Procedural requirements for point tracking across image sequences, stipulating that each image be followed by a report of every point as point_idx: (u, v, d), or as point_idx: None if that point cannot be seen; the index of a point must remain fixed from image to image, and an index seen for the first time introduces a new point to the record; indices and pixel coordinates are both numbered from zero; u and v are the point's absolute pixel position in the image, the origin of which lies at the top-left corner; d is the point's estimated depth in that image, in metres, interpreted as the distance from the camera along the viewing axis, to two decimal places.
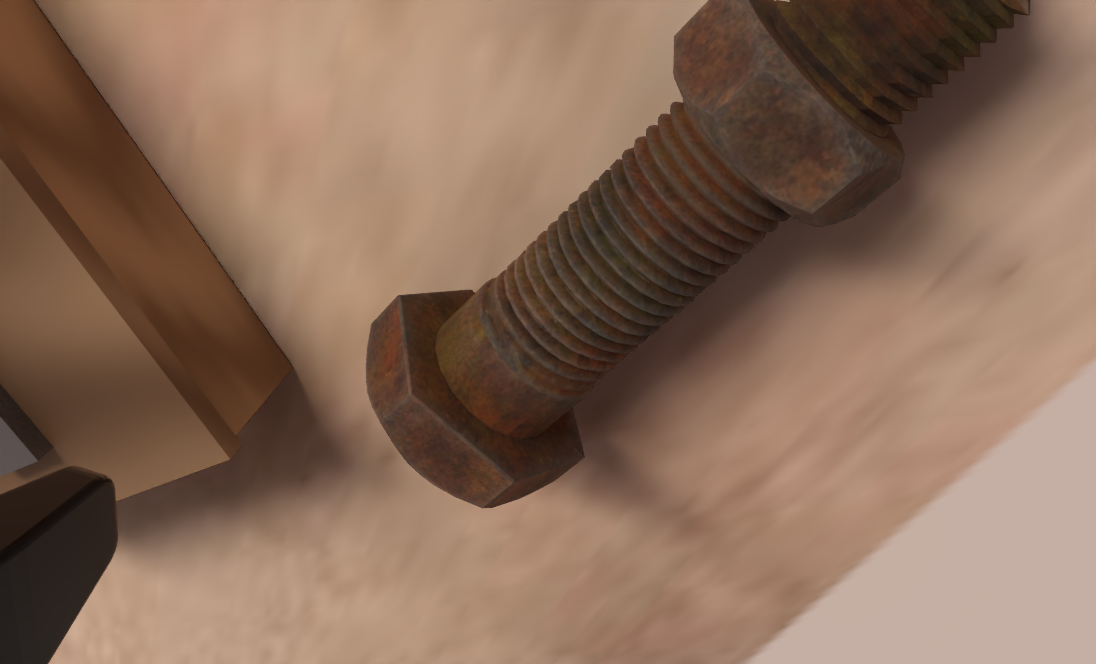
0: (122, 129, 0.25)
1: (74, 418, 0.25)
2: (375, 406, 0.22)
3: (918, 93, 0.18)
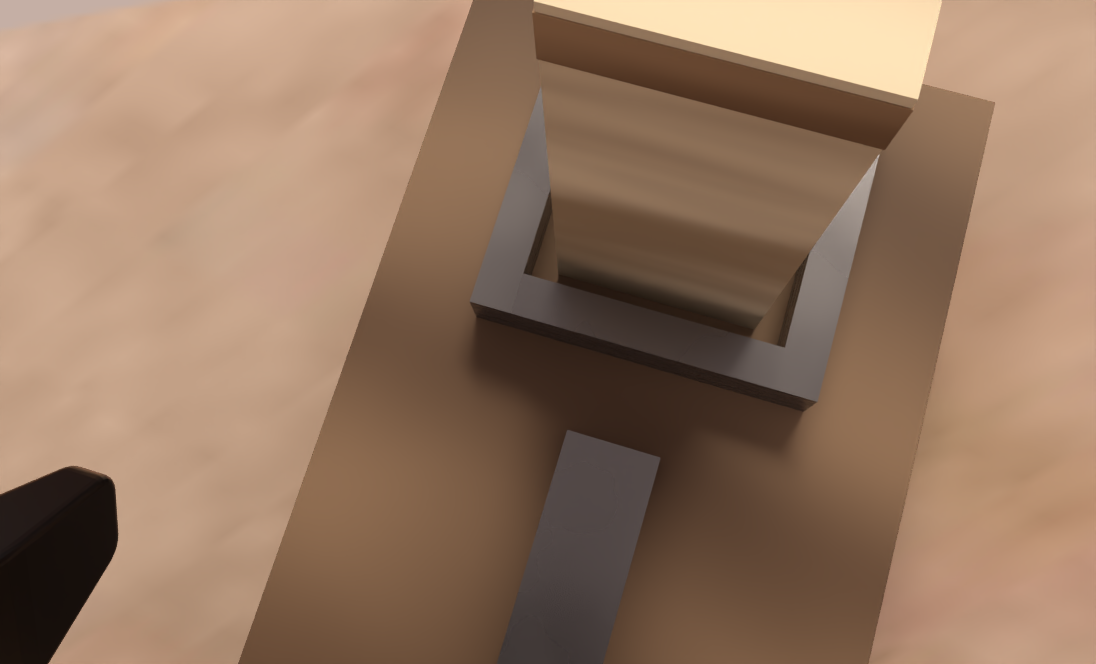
0: None
1: None
2: None
3: None
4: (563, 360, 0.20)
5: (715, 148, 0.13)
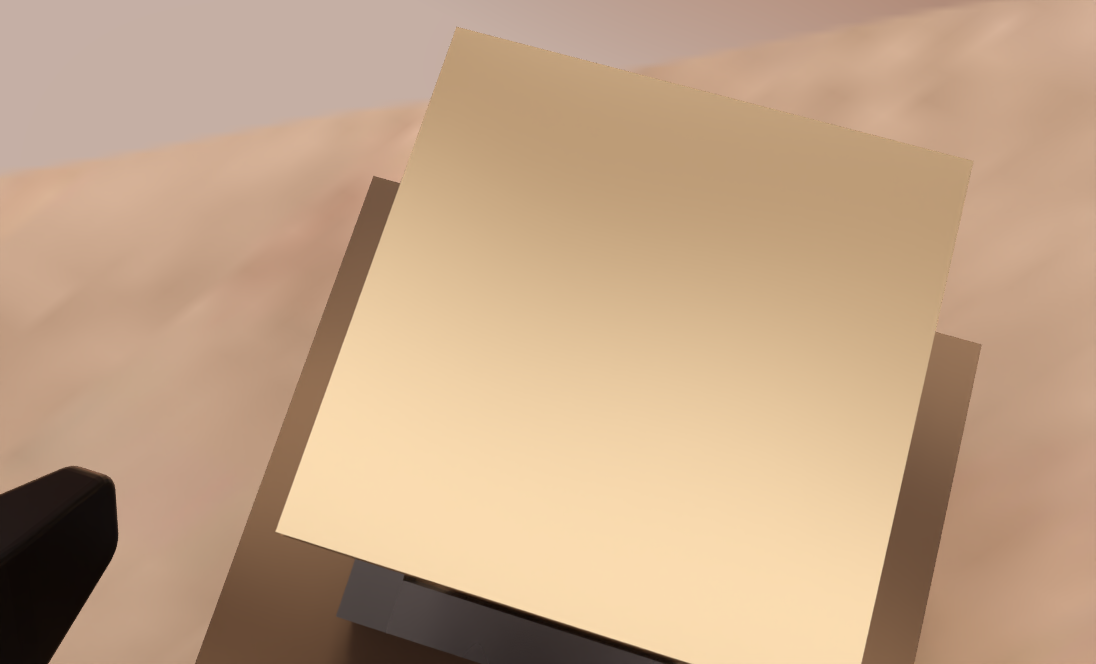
0: None
1: None
2: None
3: None
4: None
5: None
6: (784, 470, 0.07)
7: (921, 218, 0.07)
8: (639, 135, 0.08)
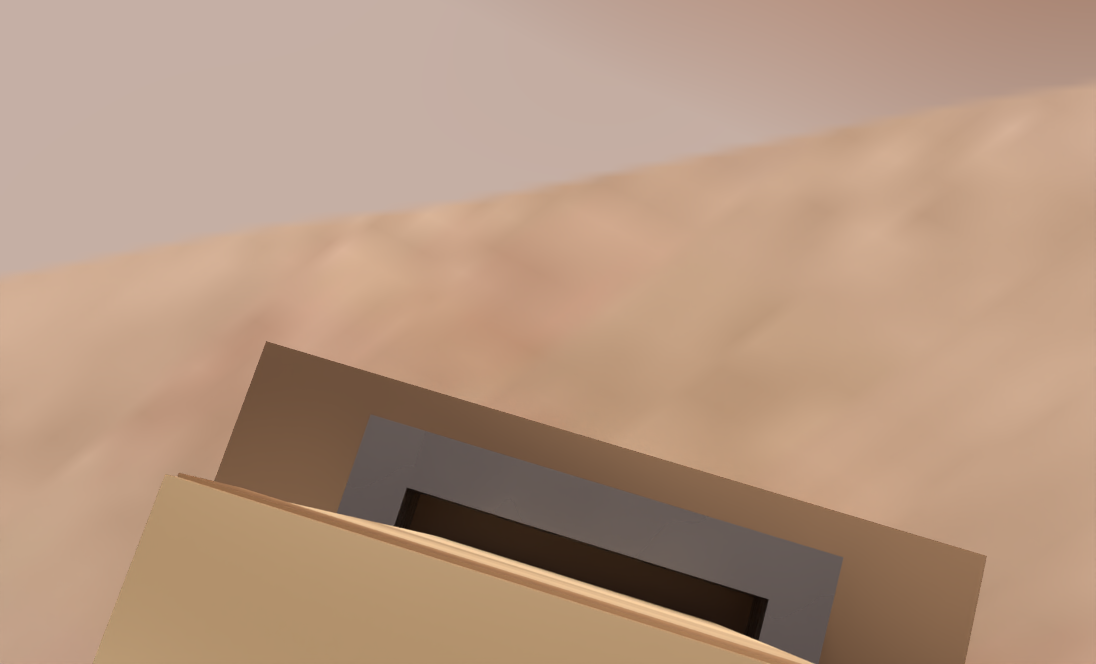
0: None
1: None
2: None
3: None
4: None
5: None
6: None
7: None
8: None
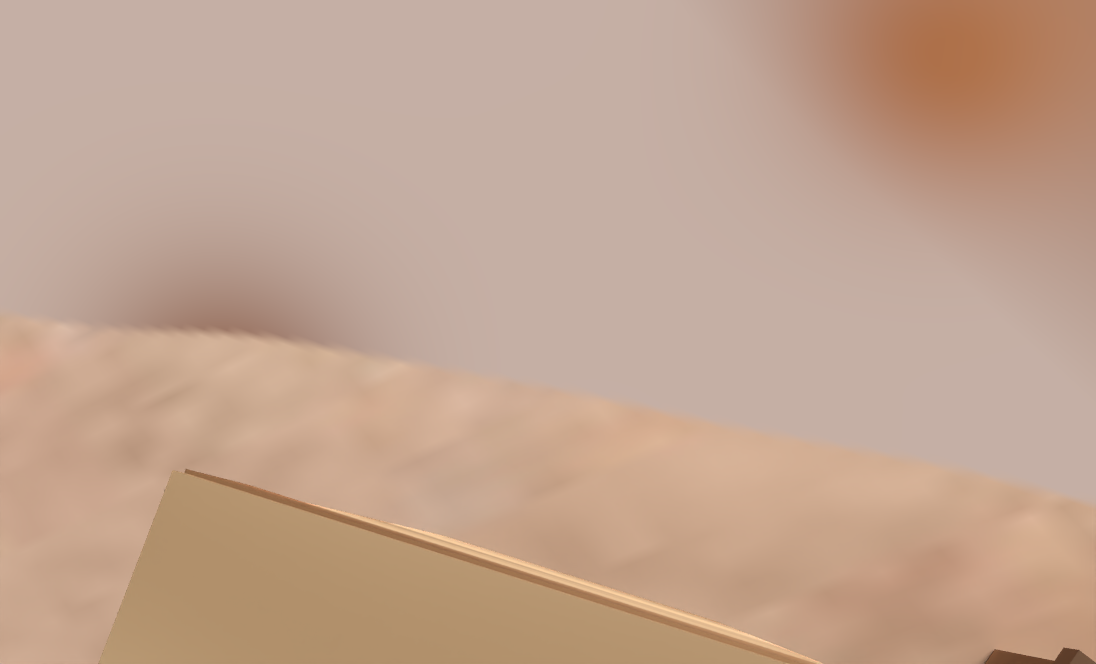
0: None
1: None
2: None
3: None
4: None
5: None
6: None
7: None
8: None
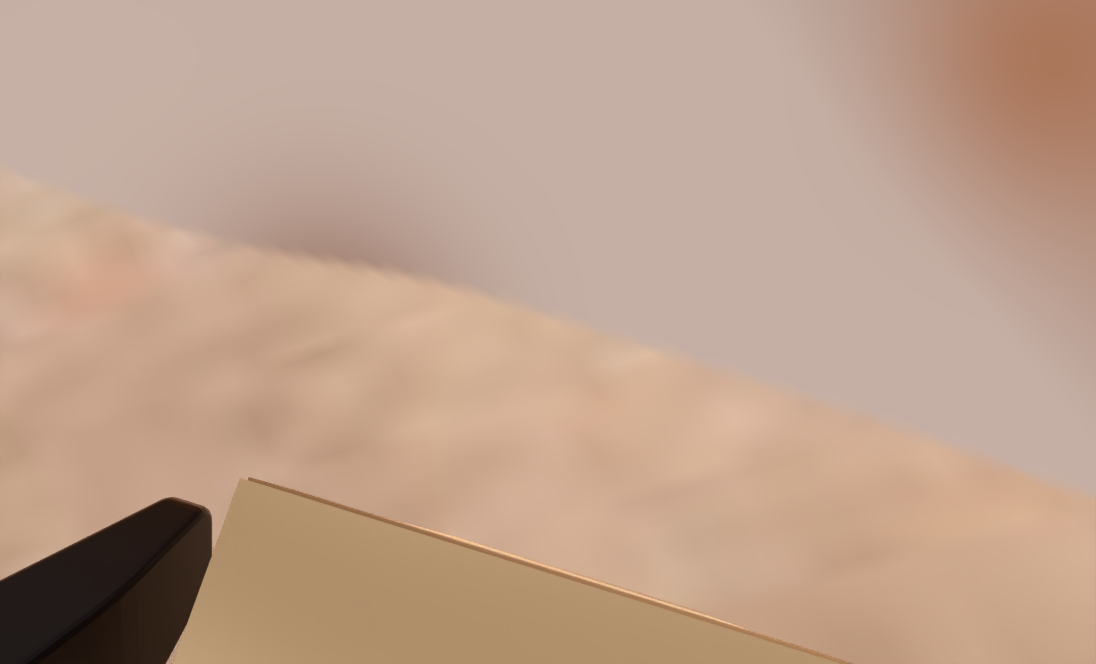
0: None
1: None
2: None
3: None
4: None
5: None
6: None
7: None
8: (453, 628, 0.06)
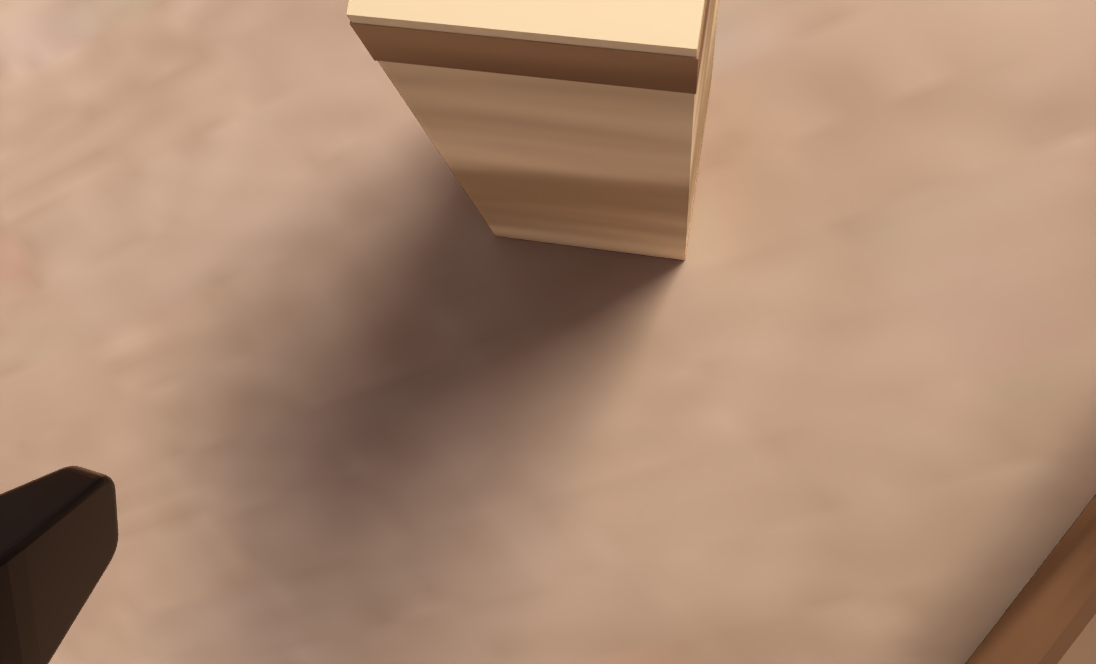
0: None
1: None
2: None
3: None
4: None
5: (560, 112, 0.14)
6: None
7: None
8: None
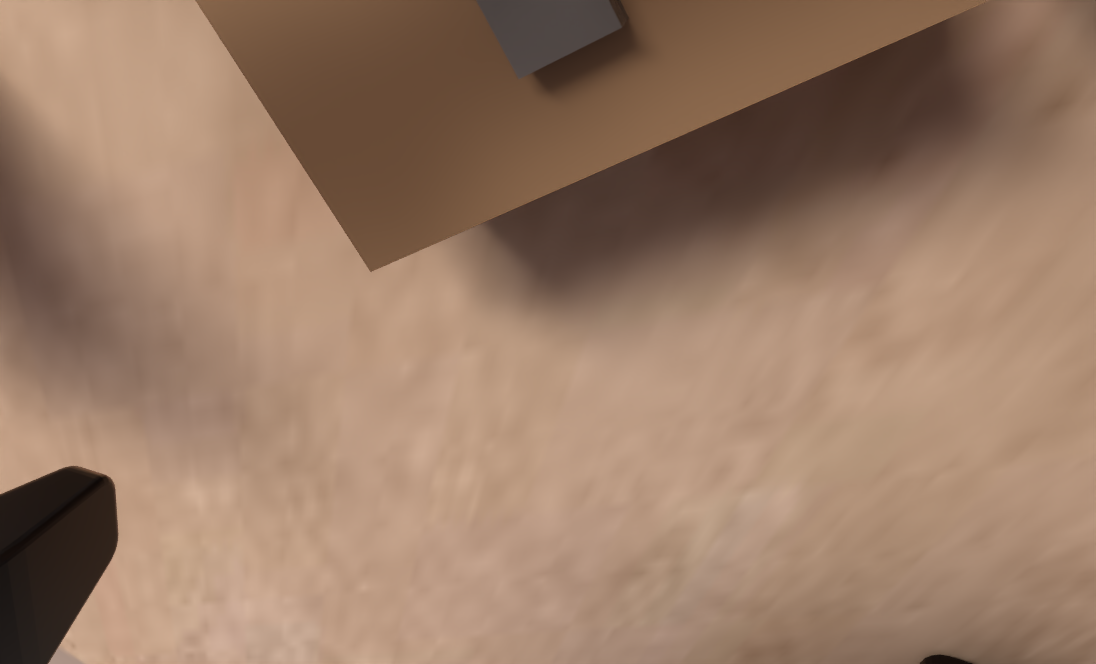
0: None
1: None
2: None
3: None
4: None
5: None
6: None
7: None
8: None
